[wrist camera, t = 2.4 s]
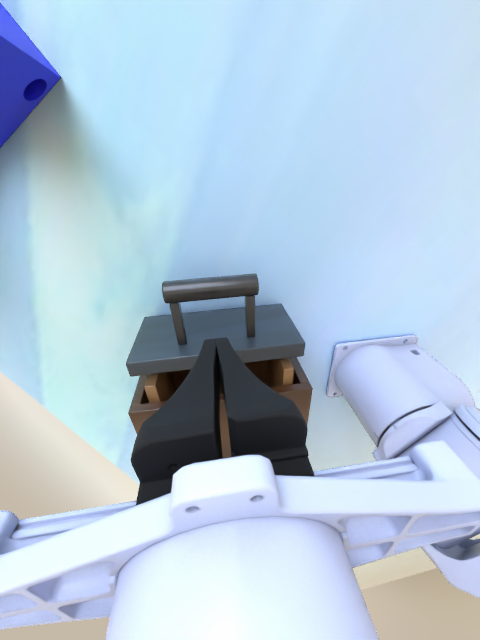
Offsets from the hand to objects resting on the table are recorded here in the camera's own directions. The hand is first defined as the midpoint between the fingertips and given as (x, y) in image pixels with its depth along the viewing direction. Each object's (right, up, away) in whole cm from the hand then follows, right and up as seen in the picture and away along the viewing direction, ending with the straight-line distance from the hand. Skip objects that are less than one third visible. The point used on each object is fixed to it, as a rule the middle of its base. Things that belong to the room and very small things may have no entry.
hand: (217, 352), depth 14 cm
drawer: (-1, -1, +10) cm, 10 cm away
